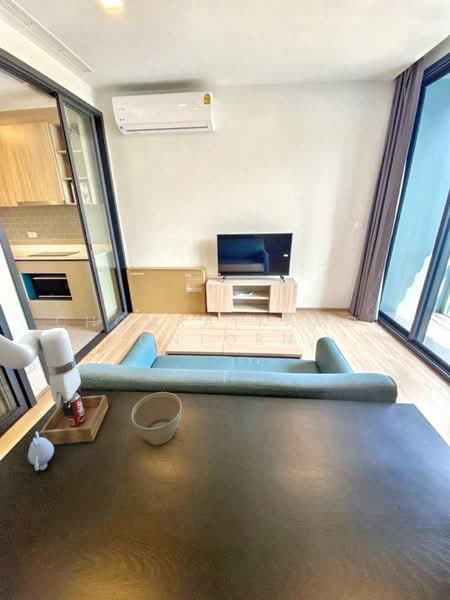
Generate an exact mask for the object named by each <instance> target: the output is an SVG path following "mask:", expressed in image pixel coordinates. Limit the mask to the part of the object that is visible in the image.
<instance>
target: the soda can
mask: <svg viewBox="0 0 450 600" xmlns="http://www.w3.org/2000/svg"><path fill="white" fill-rule="evenodd" d="M64 404H67V401H64ZM71 405H73V409H74V412H75V414H74V416H67V419H68V422H69V426H70V427H71V428H78V427H81V426H82V425H83V424H84V423H85V421H86V418H85V414H84V410H83V406H82V402H81V398H80V396H79V395H78V393H77V392H75V393H74V395H73V396H72V398H71Z"/></svg>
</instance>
